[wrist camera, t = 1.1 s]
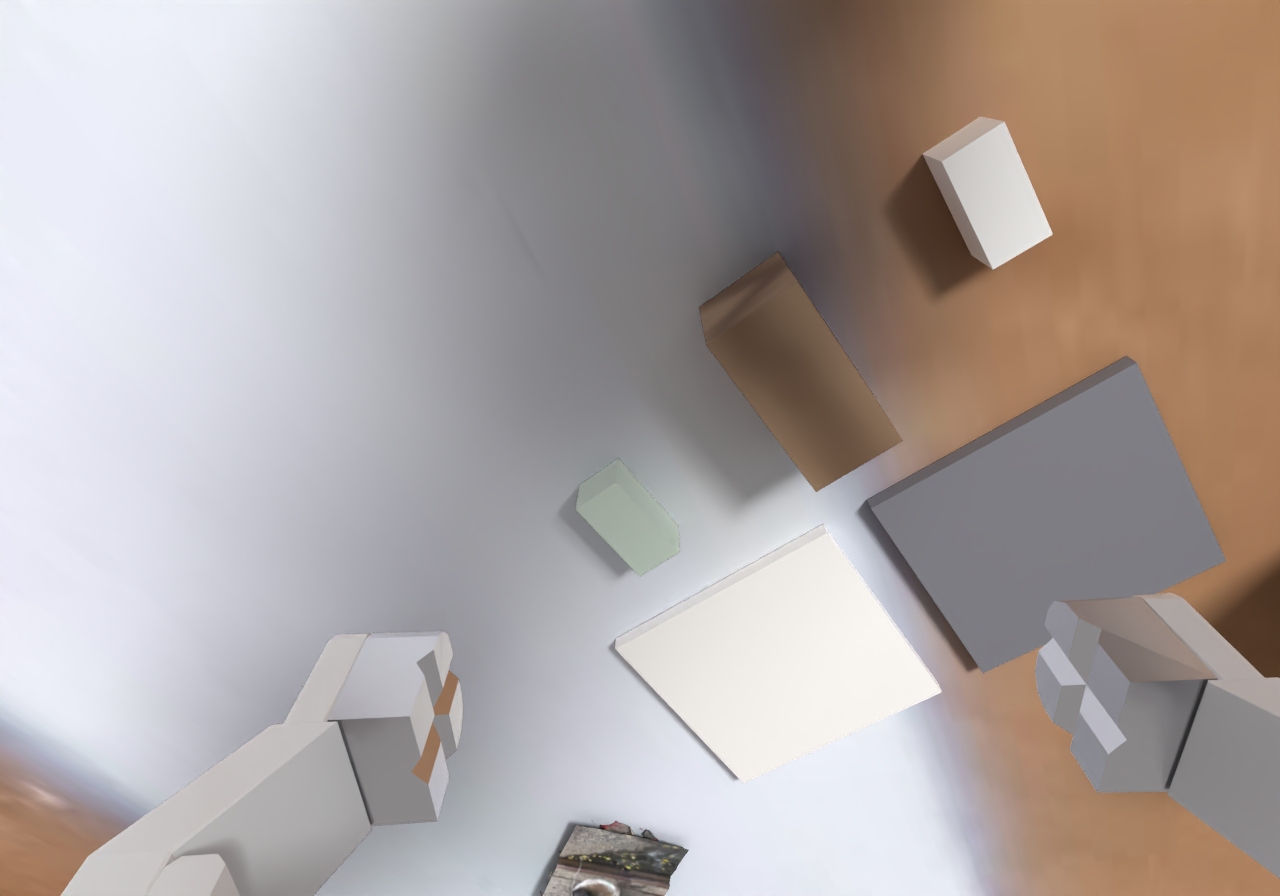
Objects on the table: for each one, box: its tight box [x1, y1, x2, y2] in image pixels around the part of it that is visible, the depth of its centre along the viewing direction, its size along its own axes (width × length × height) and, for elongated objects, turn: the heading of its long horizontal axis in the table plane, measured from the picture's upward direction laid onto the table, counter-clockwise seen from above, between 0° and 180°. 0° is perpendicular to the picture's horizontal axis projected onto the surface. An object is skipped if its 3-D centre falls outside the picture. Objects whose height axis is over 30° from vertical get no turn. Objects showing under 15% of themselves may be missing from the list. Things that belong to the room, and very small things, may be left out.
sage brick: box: [575, 459, 680, 576], centre depth 46 cm, size 6×3×3 cm, turn 38°
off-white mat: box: [615, 524, 942, 783], centre depth 52 cm, size 16×16×1 cm
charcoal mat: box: [867, 356, 1226, 673], centre depth 47 cm, size 16×16×1 cm
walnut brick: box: [699, 252, 903, 492], centre depth 40 cm, size 5×10×6 cm, turn 37°
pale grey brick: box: [923, 116, 1053, 269], centre depth 37 cm, size 6×3×3 cm, turn 34°
